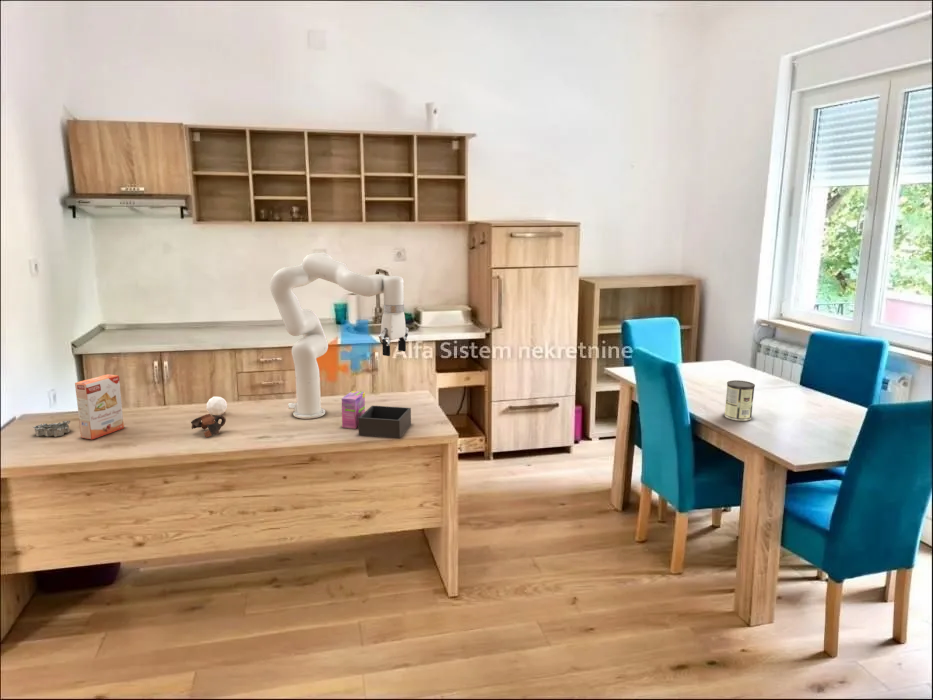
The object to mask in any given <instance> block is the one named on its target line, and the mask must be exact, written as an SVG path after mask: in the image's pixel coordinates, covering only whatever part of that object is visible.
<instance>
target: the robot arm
mask: <svg viewBox="0 0 933 700" xmlns="http://www.w3.org/2000/svg"><path fill="white" fill-rule="evenodd" d="M318 279H321V280H324V281H326V282H330V283H333V284H335V285H337V286H338V287H340V288H342V289H344V290H346V291H347V292H351V293H353V294H355V295H359V296H362V297H368V298H369V297H373V296H376V295H381V294H383V313H382V315H381V323H380V333H379V334H378V339H379V342H380V344H381V346H382V356H386V357H390V356H391V345H390V343H391V341H394V340H397V339H398V341H397V349H398V350H397V351H399V352H406V351H407V347H406V346H407V342H406V341H407V340H408V336H409V331H410V328H409V327H407V325H406V315H405V287H404V286H405V283H404V282H405V281H404V277H402V276H400V275H386V274H385V275H384V274H379V273H376V274H375V273H374V274H370V275H364V274H361V273H358V272H355V271H352V270H350V269H349V268H348V265H347V264H346V263H345V262H343V261H339V260H337V259H334V258H333V257H332V256H331V255H330V254H329V253H327V252H323V251H321V252H320V251H319V252H313V253H309V254H307V255H305V256H304V257H303V259H302V262H301V263H300V264H297V265H290V266H289V265H288V266H284V267H280V268H279V269H277V270H276V271H275V272H274V273H273V275H272V276H271V279H270V281H269V289H270V293H271V296H272V298H273V299H274V302H275V304H276V307H277V309H278V311H279V314H280V317H281V319H282V322H283V325H284V327H285V330H286V331H287V333H288V334H289V335H290V336H293V337H298V336H302V338H300V339H298V340H296V341H295V342H294V343H293V345H292V346H291V357H292V361H293V365H294V366H293V367H294V378H295V395H296V402H295V403H294V402H288V404H287V407H288V409H289V410H293V414H292V415H293V417H294V418H297V419H303V420H308V419H317V418H322V417H323V416H324V415H325V414H326V409H325V408H323V407H322V393H321V375H320V367H319V364H318V361H317V359H318V358H320V357H322V356H324V355H325V354H326V353H327V352H328V349H329V341H328V339H327V335H326V333H325V330H324V328H323V325H322V323H321V320H320V318H319V316H318V315H317V313H316V312H314V310H311V309H308V308H303V307H302V305H301V303H300V300H299V298H298V296H297V295H296V294H295V292H293V289H294V288H300V287H304V286H307V285H309V284H311V283H313V282H315V281H316V280H318Z"/></svg>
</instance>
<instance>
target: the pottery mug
mask: <svg viewBox="0 0 933 700" xmlns="http://www.w3.org/2000/svg"><path fill="white" fill-rule="evenodd" d="M219 420H221V422H220V423H219ZM226 422H227V419H226V418H225V416H224V415H223V414H221V415H219V416H218V415H215V416H213V415H212V414H210V413H206V414H204V415H201V416H199V417H196V418H195V419H193V420H191V421H190V424H191V428H190V429H191V430H194V429H196V428H197V429H200V428H201V429H202V430H204V432H203V434H204V436H205V438H206V439H207V438H209V437H212V436H215V435H218V434H220V430H221V429H222V428H223V427H224V426H225V425H226Z"/></svg>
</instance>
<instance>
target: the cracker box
mask: <svg viewBox="0 0 933 700" xmlns="http://www.w3.org/2000/svg"><path fill="white" fill-rule="evenodd" d="M74 388H75V397H76V405H77V414H78V415H77V416H78V422H79V432H80V438H82V439H86V440H91V441H92V440H95V439H98V438H101V437H103V436H106V435H109V434H111V433H115V432H117V431H120V430H123V429H125V424H124V414H123V405H122V404H123V403H122V394H121V393H122V392H121V382H120V375H117V374H110V373H107V374H102V375H100V376H96V377H92V378H88V379H83V380H80V381H77V382H74Z"/></svg>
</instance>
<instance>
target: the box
mask: <svg viewBox="0 0 933 700" xmlns="http://www.w3.org/2000/svg"><path fill="white" fill-rule="evenodd" d="M364 412H366V391H359V390H358V391H357V390H351V391H350V392H348V393H346V395H344V396H343V397H341V427H342V428H343V429H350V430H351V429H352V430H353V429H354V430H356V429H357V428H359V421H358V418H359V417H360V416H361V415H362V414H363V413H364Z"/></svg>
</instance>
